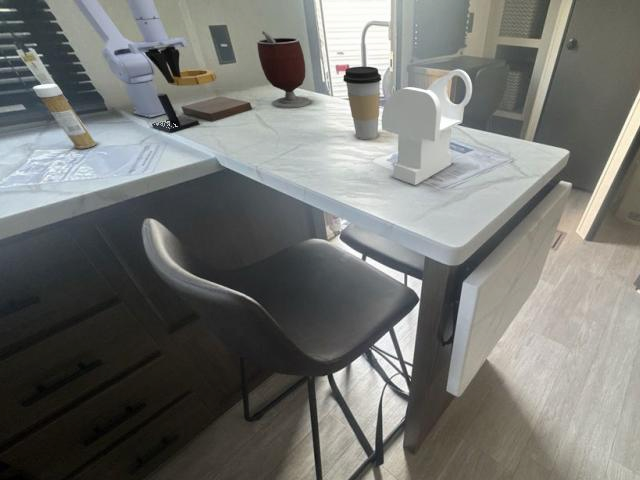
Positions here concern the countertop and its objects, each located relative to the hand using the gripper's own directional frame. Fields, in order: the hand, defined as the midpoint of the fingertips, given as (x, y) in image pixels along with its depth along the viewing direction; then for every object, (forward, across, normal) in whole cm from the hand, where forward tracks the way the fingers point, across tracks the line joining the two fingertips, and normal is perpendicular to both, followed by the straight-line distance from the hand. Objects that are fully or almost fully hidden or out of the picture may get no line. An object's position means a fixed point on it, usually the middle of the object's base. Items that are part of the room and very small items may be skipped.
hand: (174, 81), depth 90 cm
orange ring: (+1, +5, 0) cm, 5 cm away
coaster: (+10, +10, 0) cm, 14 cm away
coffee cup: (+10, +16, -56) cm, 59 cm away
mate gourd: (+10, +29, -14) cm, 34 cm away
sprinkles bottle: (+10, -28, +4) cm, 30 cm away
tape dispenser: (+10, +4, -80) cm, 81 cm away
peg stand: (+10, -6, -1) cm, 12 cm away
